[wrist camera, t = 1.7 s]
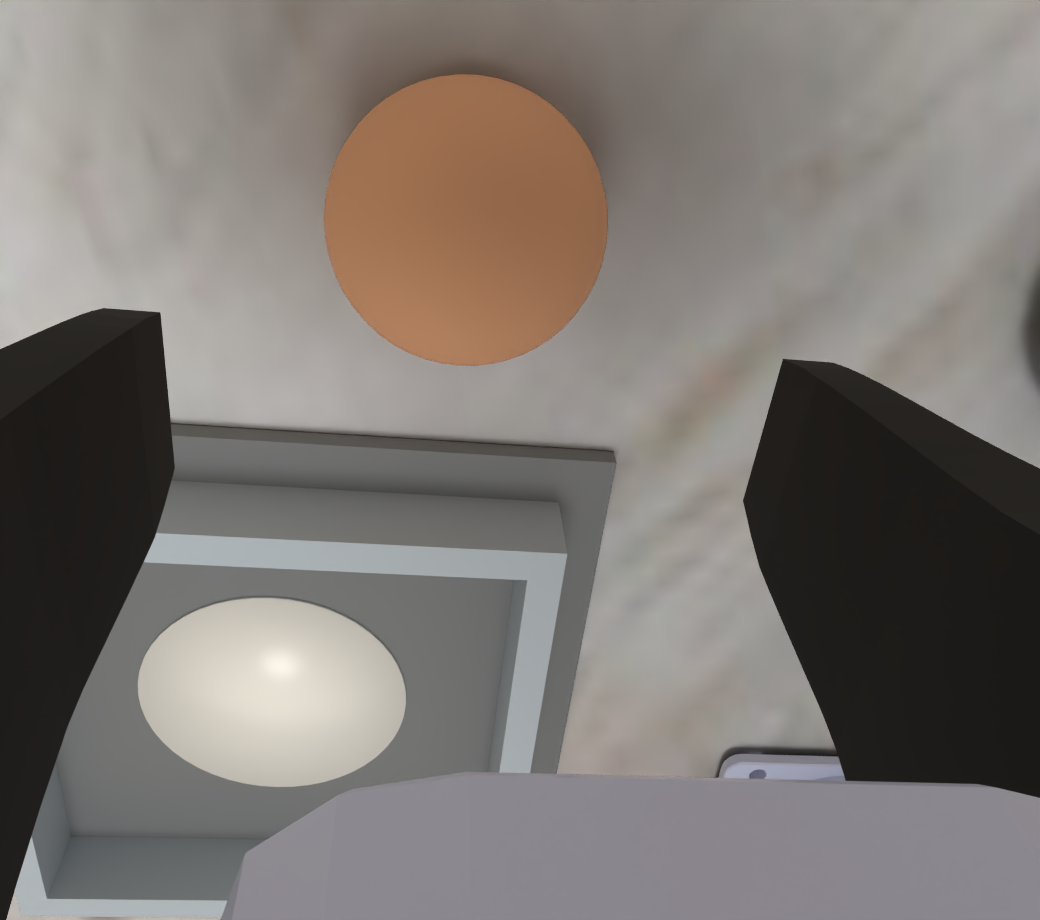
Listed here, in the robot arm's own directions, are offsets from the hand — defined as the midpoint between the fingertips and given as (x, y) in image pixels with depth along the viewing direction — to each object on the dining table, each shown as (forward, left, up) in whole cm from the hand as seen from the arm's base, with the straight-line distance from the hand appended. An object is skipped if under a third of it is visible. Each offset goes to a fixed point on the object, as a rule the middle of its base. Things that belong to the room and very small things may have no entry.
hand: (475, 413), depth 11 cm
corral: (+4, +14, -9) cm, 17 cm away
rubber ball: (0, 0, -9) cm, 9 cm away
